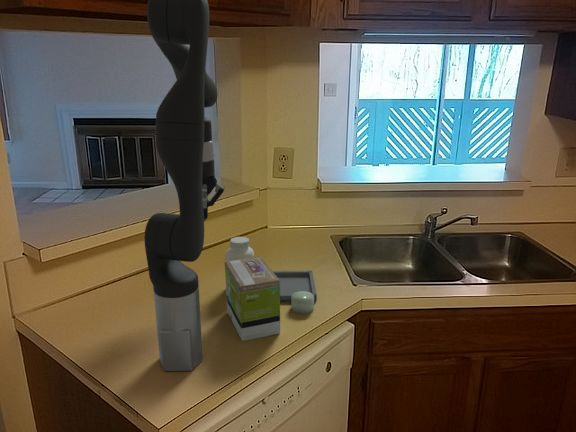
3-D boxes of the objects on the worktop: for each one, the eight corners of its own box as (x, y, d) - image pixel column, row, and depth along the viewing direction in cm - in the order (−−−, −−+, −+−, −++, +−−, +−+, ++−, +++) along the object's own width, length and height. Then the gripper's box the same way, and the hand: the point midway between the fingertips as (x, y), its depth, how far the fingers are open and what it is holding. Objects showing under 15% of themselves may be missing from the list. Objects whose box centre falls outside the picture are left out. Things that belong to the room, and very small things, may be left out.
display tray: (316, 301, 133) (316, 295, 133) (255, 301, 133) (255, 295, 132) (312, 276, 148) (312, 270, 148) (257, 276, 148) (257, 271, 147)
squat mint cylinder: (314, 313, 127) (315, 301, 126) (291, 314, 127) (291, 301, 126) (313, 302, 133) (313, 291, 132) (290, 302, 133) (291, 291, 131)
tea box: (225, 312, 127) (223, 260, 123) (262, 306, 131) (261, 254, 126) (241, 342, 114) (239, 285, 109) (281, 334, 117) (281, 278, 113)
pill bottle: (236, 280, 145) (235, 233, 141) (260, 285, 142) (259, 237, 137) (221, 291, 138) (219, 242, 134) (246, 297, 135) (245, 246, 130)
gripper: (171, 160, 124) (175, 225, 130) (223, 160, 124) (225, 224, 130) (176, 155, 131) (181, 216, 137) (226, 154, 132) (228, 215, 137)
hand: (202, 220), depth 133 cm, fingers closed
